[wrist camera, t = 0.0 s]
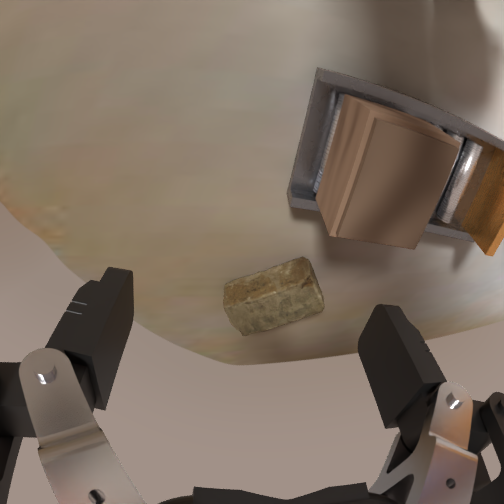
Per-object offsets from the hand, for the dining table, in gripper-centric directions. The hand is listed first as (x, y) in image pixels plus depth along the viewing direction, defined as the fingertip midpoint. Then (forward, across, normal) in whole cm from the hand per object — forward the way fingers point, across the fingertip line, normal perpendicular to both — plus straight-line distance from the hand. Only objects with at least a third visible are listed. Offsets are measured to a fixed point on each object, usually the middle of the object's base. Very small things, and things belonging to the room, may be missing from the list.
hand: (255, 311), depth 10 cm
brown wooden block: (+19, -11, -3) cm, 22 cm away
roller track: (+22, -17, -4) cm, 28 cm away
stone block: (+25, -6, +16) cm, 30 cm away
